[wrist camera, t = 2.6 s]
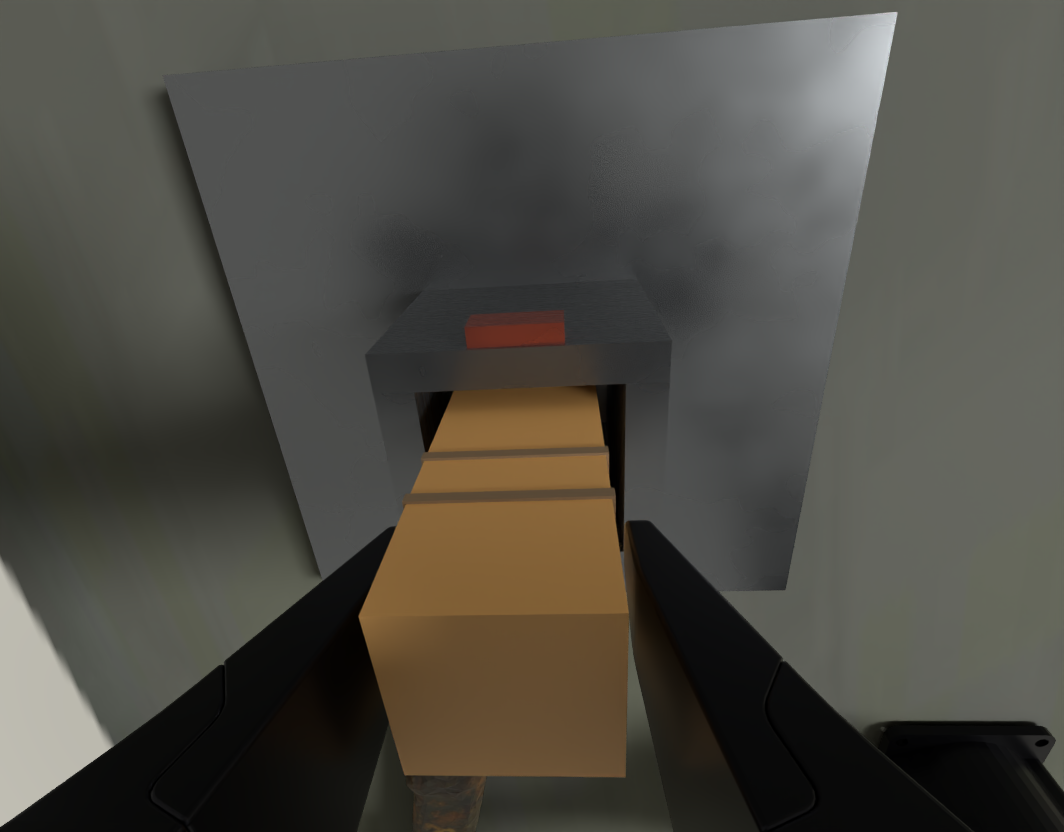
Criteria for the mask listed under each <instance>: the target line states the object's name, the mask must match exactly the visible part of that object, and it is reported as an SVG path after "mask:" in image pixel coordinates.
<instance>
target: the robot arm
mask: <svg viewBox="0 0 1064 832" xmlns="http://www.w3.org/2000/svg"><path fill="white" fill-rule="evenodd" d="M396 527H397V526H391V527H389V528H387V529H386V530H384V531H383V532H382V533H381V534H379V535H378V536H377V537H376V538H375V539H373V540H372V541H371V542H370V543H368V544H367V545H366V546H365V547H364V548H362V549H361V550H360V551H359V552H357V553H356V554H355V555H354V556H353V557H351V558H350V559H349V560H348V561H346V562H345V563H344V564H343V565H341V566H340V567H339V568H338V569H337V570H335V571H334V572H333V573H332V574H330V575H329V576H328V577H327V578H326V579H324V580H323V581H322V582H321V583H319V584H318V585H317V586H316V587H315V588H313V589H312V590H311V591H310V592H308V593H307V594H306V595H305V596H304V597H302V598H301V599H300V600H299V601H297V602H296V603H295V604H294V605H293V606H291V607H290V608H289V609H288V610H286V611H285V612H284V613H283V614H281V615H280V616H279V617H278V618H277V619H275V620H274V621H273V622H272V623H270V624H269V625H268V626H267V627H266V628H264V629H263V630H262V631H261V632H259V633H258V634H257V635H256V636H255V637H253V638H252V639H251V640H250V641H248V642H247V643H246V644H245V645H244V646H242V647H241V648H240V649H239V650H237V651H236V652H235V653H234V654H232V655H231V656H230V657H229V658H228V659H226V660H225V662H224V665H219V666H218V667H216V668H215V669H214V670H213V671H211V672H210V673H209V674H208V675H207V676H205V677H204V678H203V679H202V680H200V681H199V682H198V683H197V684H195V685H194V686H193V687H192V688H190V689H189V690H188V691H187V692H185V693H184V694H183V695H181V696H180V697H179V698H178V699H176V700H175V701H174V702H173V703H171V704H170V705H169V706H167V707H166V708H165V709H164V710H162V711H161V712H160V713H158V714H157V715H156V716H154V717H153V718H152V719H150V720H149V721H148V722H146V723H145V724H143V725H142V726H141V727H139V728H138V729H137V730H135V731H134V732H133V733H131V734H130V735H129V736H127V737H126V738H125V739H123V740H122V741H120V742H119V743H118V744H116V745H115V746H114V747H112V748H111V749H109V750H108V751H107V752H105V753H104V754H102V755H101V756H100V757H98V758H97V759H95V760H94V761H93V762H91V763H90V764H88V765H87V766H86V767H84V768H83V769H82V770H80V771H79V772H77V773H76V774H74V775H73V776H72V777H70V778H69V779H67V780H66V781H65V782H63V783H62V784H61V785H59V786H58V787H56V788H55V789H53V790H52V791H51V792H50V793H48V794H47V795H45V796H44V797H42V798H41V799H39V800H38V801H37V802H35V803H34V804H32V805H31V806H30V807H28V808H27V809H25V810H24V811H23V812H21V813H20V814H18V815H17V816H16V817H15V818H13V819H12V820H10V821H9V822H7V823H6V824H4V825H3V826H1V827H0V832H357V829H358V826H359V822H360V819H361V816H362V812H363V809H364V805H365V802H366V799H367V795H368V792H369V788H370V785H371V782H372V778H373V775H374V771H375V768H376V765H377V761H378V758H379V754H380V751H381V747H382V744H383V741H384V737H385V734H386V730H387V727H388V724H389V720H388V717H387V713H386V710H385V706H384V703H383V699H382V696H381V693H380V689H379V686H378V682H377V679H376V675H375V672H374V668H373V665H372V661H371V658H370V655H369V651H368V648H367V644H366V641H365V637H364V634H363V630H362V627H361V623H360V620H359V614H360V612H361V610H362V607H363V605H364V602H365V600H366V598H367V595H368V593H369V591H370V588H371V586H372V583H373V581H374V579H375V576H376V574H377V572H378V569H379V567H380V565H381V562H382V560H383V557H384V555H385V553H386V550H387V548H388V546H389V543H390V541H391V538H392V536H393V534H394V531H395V529H396ZM624 571H625V581H626V591H627V601H628V610H629V620H630V630H631V639H632V647H633V655H634V660H635V665H636V670H637V674H638V679H639V683H640V688H641V692H642V696H643V701H644V705H645V709H646V714H647V718H648V722H649V727H650V731H651V735H652V740H653V744H654V749H655V753H656V757H657V762H658V766H659V770H660V775H661V779H662V783H663V788H664V792H665V797H666V801H667V805H668V810H669V814H670V818H671V823H672V827H673V831H674V832H1064V791H1063V790H1062V788H1061V787H1060V786H1059V785H1058V783H1057V782H1056V781H1055V779H1054V778H1053V777H1052V776H1051V774H1050V773H1049V772H1048V770H1047V769H1046V768H1045V766H1044V765H1043V762H1044V761H1045V759H1046V757H1047V756H1048V754H1049V752H1050V751H1051V749H1052V747H1053V746H1054V744H1055V741H1056V740H1055V738H1054V737H1053V736H1052V734H1051V733H1050V732H1049V731H1048V730H1047V728H1045V727H1042V726H894V727H891V728H889V729H888V730H886V732H885V733H884V736H883V738H882V741H881V744H880V747H879V749H878V748H876V747H875V746H874V745H873V744H872V743H871V742H870V741H869V740H867V739H866V738H865V737H864V736H863V735H862V734H861V733H860V732H859V731H857V730H856V729H855V728H854V727H853V726H852V725H851V724H850V723H849V722H847V721H846V720H845V719H844V718H843V717H842V716H841V715H840V714H839V713H837V712H836V711H835V710H834V709H833V708H832V707H831V706H830V705H829V704H828V703H827V702H826V701H825V700H824V699H823V698H822V697H821V696H820V695H819V694H818V693H817V692H816V691H815V690H814V689H813V688H812V687H811V686H810V685H809V684H808V683H807V682H806V681H805V680H804V679H803V678H802V677H801V676H800V675H799V674H798V673H797V672H796V671H795V670H794V669H793V668H792V667H791V666H790V665H789V664H788V663H787V662H786V661H784V662H783V658H782V657H781V656H780V655H779V653H778V652H777V651H776V650H775V649H774V648H773V647H772V646H771V645H770V644H769V643H768V642H767V641H766V640H765V639H764V638H763V637H762V636H761V635H760V634H759V633H758V632H757V631H756V630H755V629H754V628H753V627H752V626H751V625H750V623H749V622H748V621H747V620H746V619H745V618H744V617H743V616H742V615H741V614H740V613H739V612H738V611H737V610H736V609H735V608H734V607H733V606H732V605H731V604H730V603H729V602H728V601H727V600H726V599H725V598H724V597H723V596H722V595H721V594H720V592H719V591H718V590H717V589H716V588H715V587H714V586H713V585H712V584H711V583H710V582H709V581H708V580H707V579H706V578H705V577H704V576H703V575H702V574H701V573H700V572H699V571H698V570H697V569H696V568H695V567H694V566H693V565H692V564H691V562H690V561H689V560H688V559H687V558H686V557H685V556H684V555H683V554H682V553H681V552H680V551H679V550H678V549H677V548H676V547H675V546H674V545H673V544H672V543H671V542H670V541H669V540H668V539H667V538H666V537H665V536H664V535H663V534H662V532H661V531H660V530H659V529H658V528H657V527H656V526H655V525H654V524H653V523H652V522H650V521H649V520H629V521H627V522H626V523H625V526H624Z"/></svg>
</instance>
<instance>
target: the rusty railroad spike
mask: <svg viewBox="0 0 1064 832" xmlns="http://www.w3.org/2000/svg"><path fill="white" fill-rule="evenodd" d="M486 778H487V776H431V775H406V785H407V786H408V787H409V788H410V789H411V790H412V791H413V792H414V805H413V817H412V824H413V830H412V832H475V830H476V826H477V824H478V819H479V813H480V808H481V804H482V800H483V792H484V787H485V783H486Z"/></svg>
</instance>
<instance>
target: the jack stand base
mask: <svg viewBox="0 0 1064 832" xmlns="http://www.w3.org/2000/svg"><path fill="white" fill-rule="evenodd" d="M897 13H898V12H893V13H881V14H869V15H858V16H846V17H835V18H823V19H811V20H800V21H788V22H777V23H765V24H753V25H742V26H730V27H719V28H707V29H695V30H684V31H672V32H660V33H649V34H637V35H626V36H614V37H602V38H591V39H579V40H568V41H556V42H544V43H533V44H521V45H510V46H498V47H486V48H475V49H463V50H451V51H440V52H428V53H417V54H405V55H393V56H382V57H370V58H359V59H347V60H335V61H324V62H312V63H301V64H289V65H277V66H266V67H254V68H243V69H231V70H219V71H208V72H196V73H184V74H173V75H162V76H163V79H164V82H165V85H166V88H167V91H168V94H169V98H170V101H171V104H172V107H173V110H174V113H175V117H176V120H177V123H178V126H179V129H180V132H181V135H182V139H183V142H184V145H185V148H186V151H187V154H188V158H189V161H190V164H191V167H192V170H193V173H194V176H195V180H196V183H197V186H198V189H199V192H200V195H201V199H202V202H203V205H204V208H205V211H206V214H207V217H208V221H209V224H210V227H211V230H212V233H213V236H214V240H215V243H216V246H217V249H218V252H219V255H220V258H221V262H222V265H223V268H224V271H225V274H226V277H227V281H228V284H229V287H230V290H231V293H232V296H233V299H234V303H235V306H236V309H237V312H238V315H239V318H240V322H241V325H242V328H243V331H244V334H245V337H246V340H247V344H248V347H249V350H250V353H251V356H252V359H253V363H254V366H255V369H256V372H257V375H258V378H259V381H260V385H261V388H262V391H263V394H264V397H265V400H266V404H267V407H268V410H269V413H270V416H271V419H272V422H273V426H274V429H275V432H276V435H277V438H278V441H279V445H280V448H281V451H282V454H283V457H284V460H285V463H286V467H287V470H288V473H289V476H290V479H291V482H292V486H293V489H294V492H295V495H296V498H297V501H298V504H299V508H300V511H301V514H302V517H303V520H304V523H305V527H306V530H307V533H308V536H309V539H310V542H311V545H312V549H313V552H314V555H315V558H316V561H317V564H318V568H319V571H320V574H321V577H322V580H324V579H326V578H327V577H328V576H329V575H330V574H332V573H333V572H334V571H335V570H337V569H338V568H339V567H340V566H341V565H343V564H344V563H345V562H346V561H348V560H349V559H350V558H351V557H353V556H354V555H355V554H356V553H357V552H359V551H360V550H361V549H362V548H364V547H365V546H366V545H367V544H368V543H370V542H371V541H372V540H373V539H375V538H376V537H377V536H378V535H379V534H381V533H382V532H383V531H384V530H386V529H387V528H389V527H391V526H397V524H398V522H399V520H400V517H401V515H402V512H403V510H404V509H403V504H402V500H403V498H404V496H405V494H410V493H411V491H412V489H413V486H414V484H415V482H416V479H417V477H418V475H419V472H420V470H421V467H422V463H421V457H422V455H423V452H428V451H429V448H430V446H431V444H432V441H433V439H434V437H435V434H436V432H437V430H438V427H439V425H440V422H441V420H442V418H443V415H444V413H445V411H446V408H447V406H448V403H449V401H450V399H451V396H452V394H453V392H454V391H463V390H488V389H512V388H536V387H560V386H584V385H596V391H597V398H598V405H599V412H600V418H601V425H602V432H603V439H604V446H608V450H609V480H610V487H611V488H615V494H616V528H617V535H618V542H619V549H620V556H621V563H622V569H623V576H624V583H625V590H626V581H625V571H624V526H625V523H626V522H627V521H629V520H649V521H650V522H652V523H653V524H654V525H655V526H656V527H657V528H658V529H659V530H660V531H661V532H662V534H663V535H664V536H665V537H666V538H667V539H668V540H669V541H670V542H671V543H672V544H673V545H674V546H675V547H676V548H677V549H678V550H679V551H680V552H681V553H682V554H683V555H684V556H685V557H686V558H687V559H688V560H689V561H690V562H691V564H692V565H693V566H694V567H695V568H696V569H697V570H698V571H699V572H700V573H701V574H702V575H703V576H704V577H705V578H706V579H707V580H708V581H709V582H710V583H711V584H712V585H713V586H714V587H715V588H716V589H717V590H718V591H758V590H785V589H786V584H787V579H788V574H789V569H790V564H791V558H792V553H793V548H794V543H795V538H796V533H797V528H798V522H799V517H800V512H801V507H802V502H803V497H804V492H805V486H806V481H807V476H808V471H809V466H810V461H811V455H812V450H813V445H814V440H815V435H816V430H817V425H818V419H819V414H820V409H821V404H822V399H823V394H824V389H825V383H826V378H827V373H828V368H829V363H830V358H831V352H832V347H833V342H834V337H835V332H836V327H837V322H838V316H839V311H840V306H841V301H842V296H843V291H844V286H845V280H846V275H847V270H848V265H849V260H850V255H851V249H852V244H853V239H854V234H855V229H856V224H857V219H858V213H859V208H860V203H861V198H862V193H863V188H864V183H865V177H866V172H867V167H868V162H869V157H870V152H871V146H872V141H873V136H874V131H875V126H876V121H877V116H878V110H879V105H880V100H881V95H882V90H883V85H884V80H885V74H886V69H887V64H888V59H889V54H890V49H891V44H892V38H893V33H894V28H895V23H896V18H897ZM626 592H627V591H626Z"/></svg>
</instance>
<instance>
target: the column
mask: <svg viewBox="0 0 1064 832" xmlns="http://www.w3.org/2000/svg"><path fill="white" fill-rule="evenodd" d="M421 463H422V467H421V470H420V472H419V475H418V477H417V479H416V482H415V484H414V486H413V489H412V491H411V493H410V494H405V496H404V498H403V500H402V504H403V509H404V510H403V512H402V515H401V517H400V520H399V522H398V524H397V527H396V529H395V531H394V534H393V536H392V538H391V541H390V543H389V546H388V548H387V550H386V553H385V555H384V557H383V560H382V562H381V565H380V567H379V569H378V572H377V574H376V576H375V579H374V581H373V583H372V586H371V588H370V591H369V593H368V595H367V598H366V600H365V602H364V605H363V607H362V610H361V612H360V614H359V620H360V623H361V627H362V630H363V634H364V637H365V641H366V644H367V648H368V651H369V655H370V658H371V661H372V665H373V668H374V672H375V675H376V679H377V682H378V686H379V689H380V693H381V696H382V699H383V703H384V706H385V710H386V713H387V717H388V720H389V724H390V727H391V731H392V734H393V738H394V741H395V744H396V748H397V751H398V755H399V758H400V762H401V765H402V769H403V772H404V775H431V776H540V777H626V729H627V681H628V633H629V611H628V604H627V597H626V590H625V583H624V576H623V569H622V563H621V556H620V549H619V542H618V535H617V528H616V494H615V488H611V487H610V480H609V450H608V446H604V439H603V432H602V425H601V418H600V412H599V405H598V398H597V391H596V385H584V386H560V387H536V388H512V389H488V390H463V391H454V392H453V394H452V396H451V399H450V401H449V403H448V406H447V408H446V411H445V413H444V415H443V418H442V420H441V422H440V425H439V427H438V430H437V432H436V434H435V437H434V439H433V441H432V444H431V446H430V448H429V451H428V452H423V455H422V457H421Z"/></svg>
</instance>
